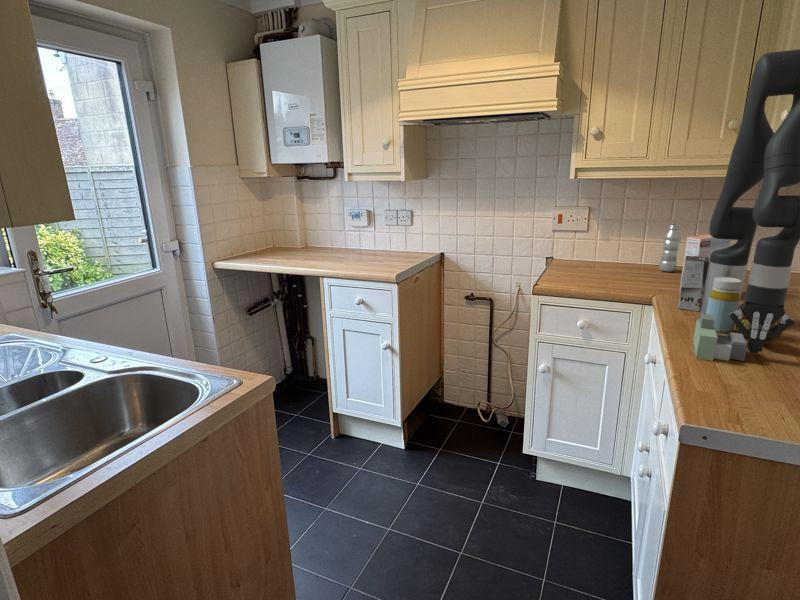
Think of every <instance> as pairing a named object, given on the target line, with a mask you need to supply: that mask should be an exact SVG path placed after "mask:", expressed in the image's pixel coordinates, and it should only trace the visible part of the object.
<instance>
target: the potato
mask: <svg viewBox="0 0 800 600" xmlns="http://www.w3.org/2000/svg"><path fill="white" fill-rule="evenodd" d="M740 320H741V322H742V323H743V325H744V326H745V327H746V328H747V329H749V328H750V322H748V320H747V319H746V318H745V319H740ZM779 323H780V322H779V321H778V320H777V321H776V322H775V323H773V324H772V325H770V327H769V330H770V329H771V328H773V327H774V326H776V325H777V324H779ZM759 326H760V324H759V325H758V330H759ZM735 329H736V333H739V334H742V332H741V331H740V330H739V328H738V327H737V326H736V325H735ZM758 330H757V334H758ZM769 330H768V331H769ZM782 334H783V332H782V333H780V334H779V335H777V336H776V337H775V338H766V339H765V340H764V344H771V343H774V342H775V341H777V340H779V339H780V338H781V336H782ZM743 336H744V338H745V339H749V336H747V335H743ZM757 336H758V335H757Z"/></svg>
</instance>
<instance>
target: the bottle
mask: <svg viewBox="0 0 800 600" xmlns="http://www.w3.org/2000/svg"><path fill="white" fill-rule="evenodd" d="M740 286H741V280H739V279H736V278H730V277H715V279H714V283H713V290H712V291H711V293H710V295H709V299H708V305H707V310H706V314H711V315H713V317H714V320H715V322H714V328H715V331H716V333H719V334H727V335H728V334H730V332H731V333H734V330H735V329H734V328H735V326H736V324H735V323H734V321H733V320H732V319H731V317H730V315H729V312H731V311H736V310H738V309H739V308H738V306H739V307H740V303H739V301H741V298H740V295H739V291H740Z"/></svg>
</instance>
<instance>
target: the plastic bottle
mask: <svg viewBox="0 0 800 600" xmlns="http://www.w3.org/2000/svg"><path fill="white" fill-rule="evenodd" d="M679 230H680V224H677V223H671V224H669V225H668V231H667V232H666V233H665V234H664V235H663V248H662V249H663V250H662V255H661V258H660V261H659V264H658V268H659V270H660V271H662V272H666V273H667V272H668V273H670V272H675V271H676V269H677V264H678V262H677V257H678V250H679V248H680V247H679V246H680V243H681V240H682V235H681V233H680V231H679Z"/></svg>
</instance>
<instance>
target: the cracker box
mask: <svg viewBox="0 0 800 600" xmlns="http://www.w3.org/2000/svg"><path fill="white" fill-rule="evenodd" d="M730 244H731V240H730V239H717V238H713V237H712V236H711V235H710V234H703V235H690V236H687V237H686V243H685V249H684V256H683V257H684V258H683V263H682V264H683V265H682V272H681V277H680V284H679V295H680V289H681V283H682V277H683V271H684V265H685V260H686V256H700V257H708V259H709V262H710V256H711V253H712V252H713V251H716V250H720V249H724V248H727V247H730V246H731V245H730ZM708 268H709V266H708ZM707 273H708V271H707ZM706 279H707V277H706ZM705 284H706V282H705ZM704 290H705V287H704ZM703 295H704V293H703Z"/></svg>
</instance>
